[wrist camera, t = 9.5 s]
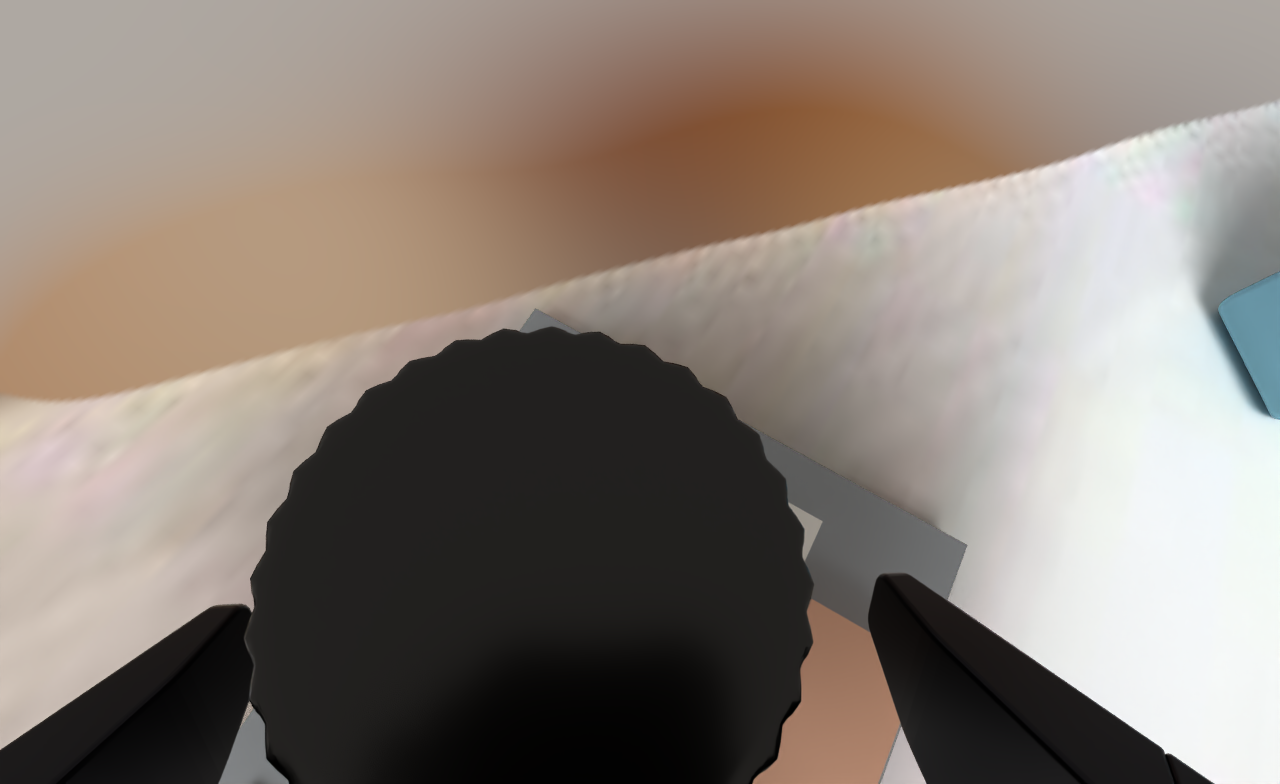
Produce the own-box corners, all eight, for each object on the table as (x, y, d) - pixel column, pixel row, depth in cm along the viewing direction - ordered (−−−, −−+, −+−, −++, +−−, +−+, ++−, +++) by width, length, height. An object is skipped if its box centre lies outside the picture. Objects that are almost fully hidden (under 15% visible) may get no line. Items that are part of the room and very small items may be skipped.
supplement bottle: (634, 427, 18) (685, 130, 7) (763, 642, 16) (1130, 739, 5) (416, 547, 17) (2, 430, 5) (532, 798, 15) (292, 1445, 3)
